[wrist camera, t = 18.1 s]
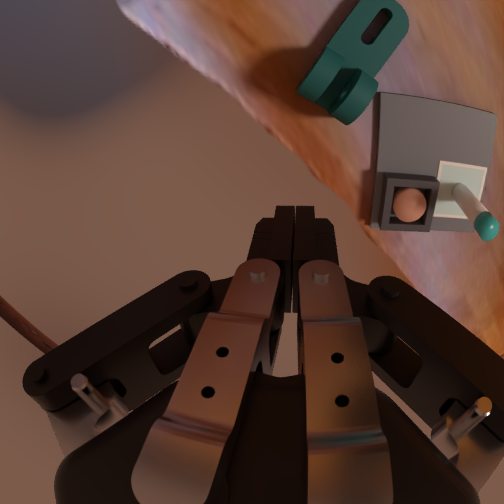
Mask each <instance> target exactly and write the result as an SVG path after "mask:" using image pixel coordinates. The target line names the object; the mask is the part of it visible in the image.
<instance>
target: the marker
mask: <svg viewBox="0 0 504 504" xmlns="http://www.w3.org/2000/svg"><path fill="white" fill-rule="evenodd" d="M451 196H452V198H453V199H454V201H455V202H456V203H457V205H458V206H459V207H460V208H461V210H462V211H463V212H464V214H465V215H466V216H467V218H468V219H469V220H470V222H471V223H472V225H473V226H474V228H475V230H476V231H477V233H478V234H479V236H480V237H481V239H482V240H484V241H489V240H491V239H493V238H494V237H495V236H496V235H497V233H498V231H499V223H498V222H497V221H496V219H495V218H494V217H493V216H492V214H491V213H490V212H488V211H487V209H486V208H485V207H484V206H483V205H482V203H481V202H480V201H479V200H478V199H477V198H476V197H475V195H474V194H473V193H472V192H471V191H470V190H469V189H468V188H467V187H466V186H465V185H464V184H462V183H459V184H457V185H455V186H454V187H453V189H452V192H451Z"/></svg>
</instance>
